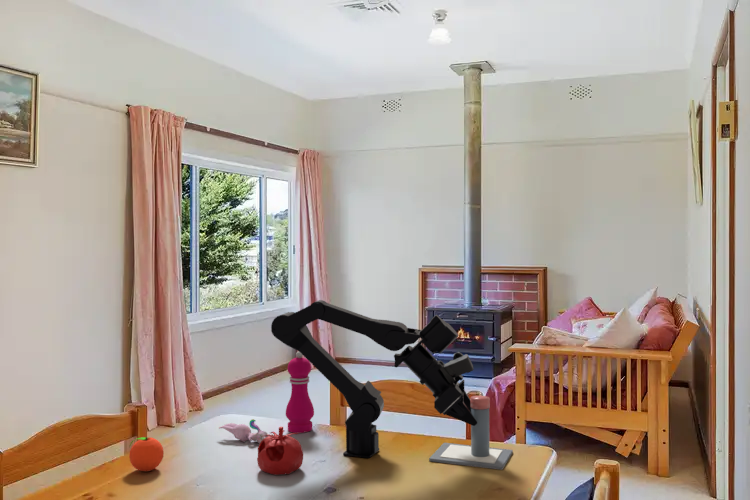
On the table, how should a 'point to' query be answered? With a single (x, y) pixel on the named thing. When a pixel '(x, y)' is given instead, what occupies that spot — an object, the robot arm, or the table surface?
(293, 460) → the red round fruit
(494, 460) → the writing board
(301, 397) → the pepper mill
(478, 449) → the cylinder
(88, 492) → the table surface
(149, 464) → the clementine
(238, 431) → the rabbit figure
